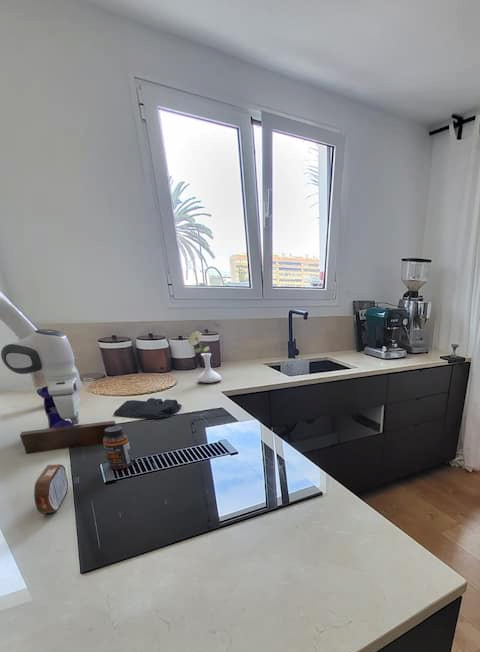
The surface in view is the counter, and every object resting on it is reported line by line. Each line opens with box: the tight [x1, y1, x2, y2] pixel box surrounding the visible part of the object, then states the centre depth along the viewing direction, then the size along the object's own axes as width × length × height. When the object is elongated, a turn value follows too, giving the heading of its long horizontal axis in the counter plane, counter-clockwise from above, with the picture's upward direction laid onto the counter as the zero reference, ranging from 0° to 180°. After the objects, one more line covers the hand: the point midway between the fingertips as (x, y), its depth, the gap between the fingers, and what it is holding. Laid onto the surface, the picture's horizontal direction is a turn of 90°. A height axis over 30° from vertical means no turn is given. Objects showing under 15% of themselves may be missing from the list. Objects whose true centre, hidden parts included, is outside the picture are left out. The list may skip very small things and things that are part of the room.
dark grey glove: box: [113, 397, 183, 420], centre depth 153 cm, size 15×22×5 cm
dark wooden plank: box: [19, 420, 117, 455], centre depth 122 cm, size 24×3×6 cm, turn 118°
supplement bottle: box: [102, 425, 134, 470], centre depth 109 cm, size 6×6×11 cm
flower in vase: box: [187, 330, 222, 384], centre depth 191 cm, size 13×11×25 cm
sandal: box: [36, 386, 74, 429], centre depth 127 cm, size 8×20×15 cm, turn 33°
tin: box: [33, 463, 69, 515], centre depth 91 cm, size 15×3×8 cm, turn 22°
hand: (76, 423), depth 130 cm, fingers closed
